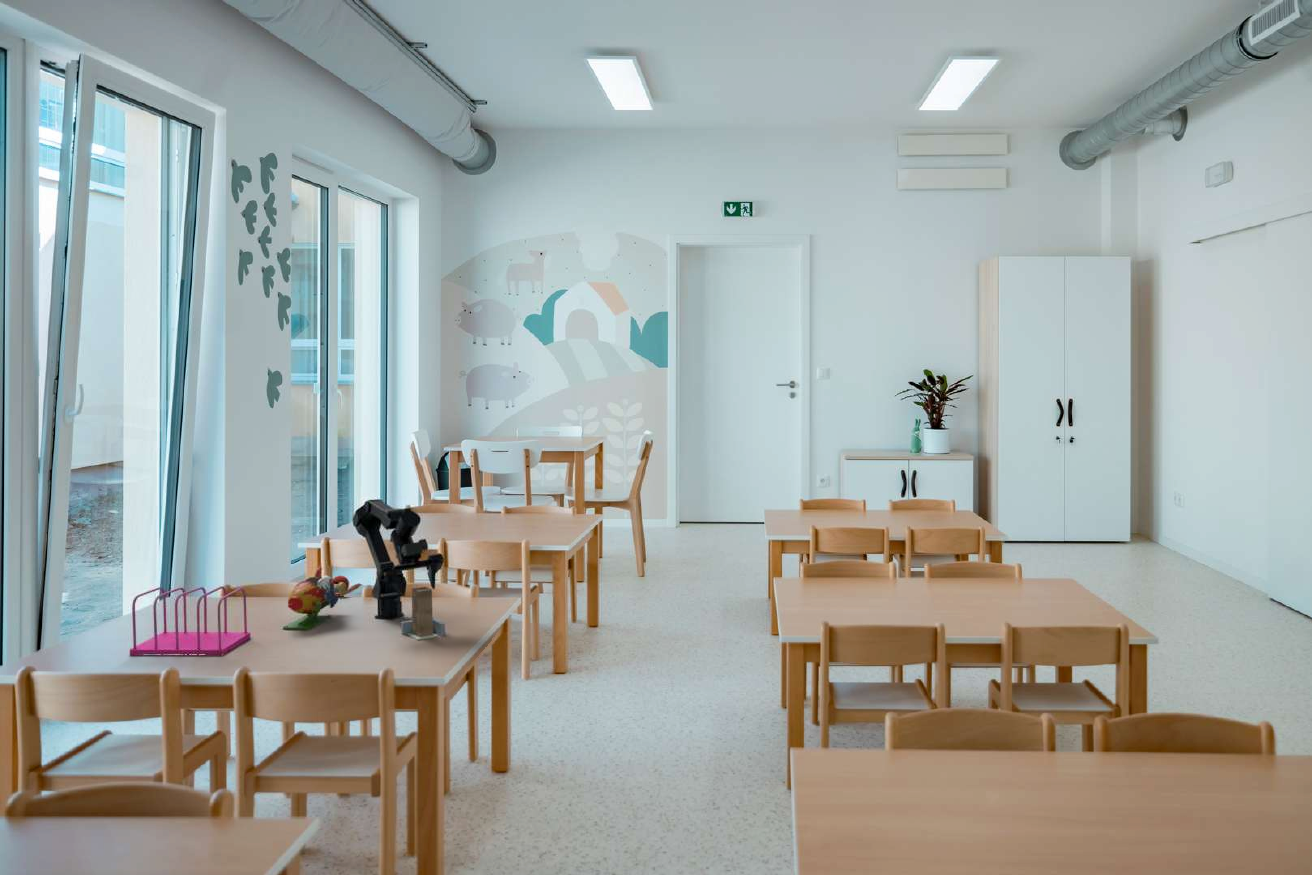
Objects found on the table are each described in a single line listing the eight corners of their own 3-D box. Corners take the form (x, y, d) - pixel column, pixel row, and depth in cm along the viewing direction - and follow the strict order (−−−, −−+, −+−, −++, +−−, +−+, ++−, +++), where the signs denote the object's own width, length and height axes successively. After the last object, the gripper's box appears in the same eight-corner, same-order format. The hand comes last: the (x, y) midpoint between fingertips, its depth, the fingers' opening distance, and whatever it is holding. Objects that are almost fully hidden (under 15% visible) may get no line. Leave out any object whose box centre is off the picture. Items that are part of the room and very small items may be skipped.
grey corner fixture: (401, 633, 277) (401, 621, 277) (433, 628, 283) (433, 616, 282) (413, 640, 270) (412, 628, 270) (445, 635, 275) (445, 623, 275)
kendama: (329, 607, 315) (357, 588, 332) (324, 589, 314) (352, 570, 331) (308, 610, 317) (337, 591, 334) (303, 592, 316) (332, 573, 333)
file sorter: (163, 638, 274) (161, 583, 273) (251, 638, 274) (249, 583, 273) (129, 655, 257) (126, 597, 256) (222, 656, 256) (220, 597, 255)
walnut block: (412, 633, 276) (411, 588, 275) (426, 631, 278) (424, 586, 278) (419, 637, 272) (418, 591, 271) (432, 634, 274) (431, 589, 274)
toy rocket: (269, 633, 279) (267, 580, 278) (309, 611, 303) (308, 563, 302) (316, 634, 277) (314, 581, 276) (352, 613, 302) (351, 564, 301)
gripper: (376, 535, 274) (390, 582, 267) (440, 526, 284) (455, 571, 276) (370, 556, 282) (384, 602, 274) (432, 546, 292) (447, 591, 284)
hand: (418, 591), depth 277 cm, fingers open, 9 cm apart
